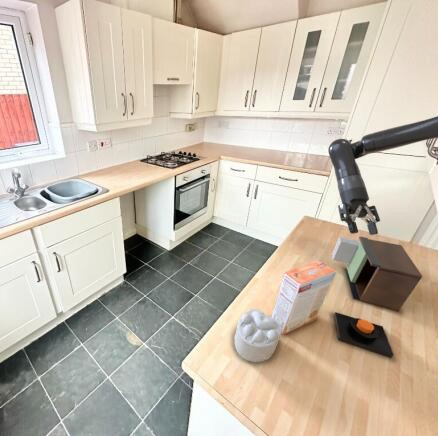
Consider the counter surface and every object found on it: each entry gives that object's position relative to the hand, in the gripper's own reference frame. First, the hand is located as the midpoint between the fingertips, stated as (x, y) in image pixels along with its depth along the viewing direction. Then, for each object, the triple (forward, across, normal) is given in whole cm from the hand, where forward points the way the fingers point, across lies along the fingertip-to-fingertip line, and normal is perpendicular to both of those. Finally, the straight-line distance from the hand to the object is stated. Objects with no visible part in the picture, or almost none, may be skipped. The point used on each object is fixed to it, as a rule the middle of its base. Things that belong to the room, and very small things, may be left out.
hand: (364, 233), depth 83 cm
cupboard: (+18, +9, +11) cm, 23 cm away
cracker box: (+28, -27, +10) cm, 40 cm away
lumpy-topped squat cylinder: (+34, -43, +8) cm, 55 cm away
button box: (+32, -11, +2) cm, 34 cm away
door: (+11, +7, +17) cm, 21 cm away
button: (+29, -11, -1) cm, 31 cm away
